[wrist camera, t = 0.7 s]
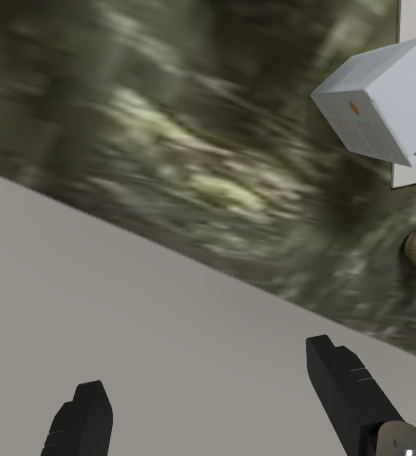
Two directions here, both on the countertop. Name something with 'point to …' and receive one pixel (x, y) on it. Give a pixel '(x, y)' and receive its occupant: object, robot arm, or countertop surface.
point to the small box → (374, 103)
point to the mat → (407, 29)
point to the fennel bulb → (411, 247)
